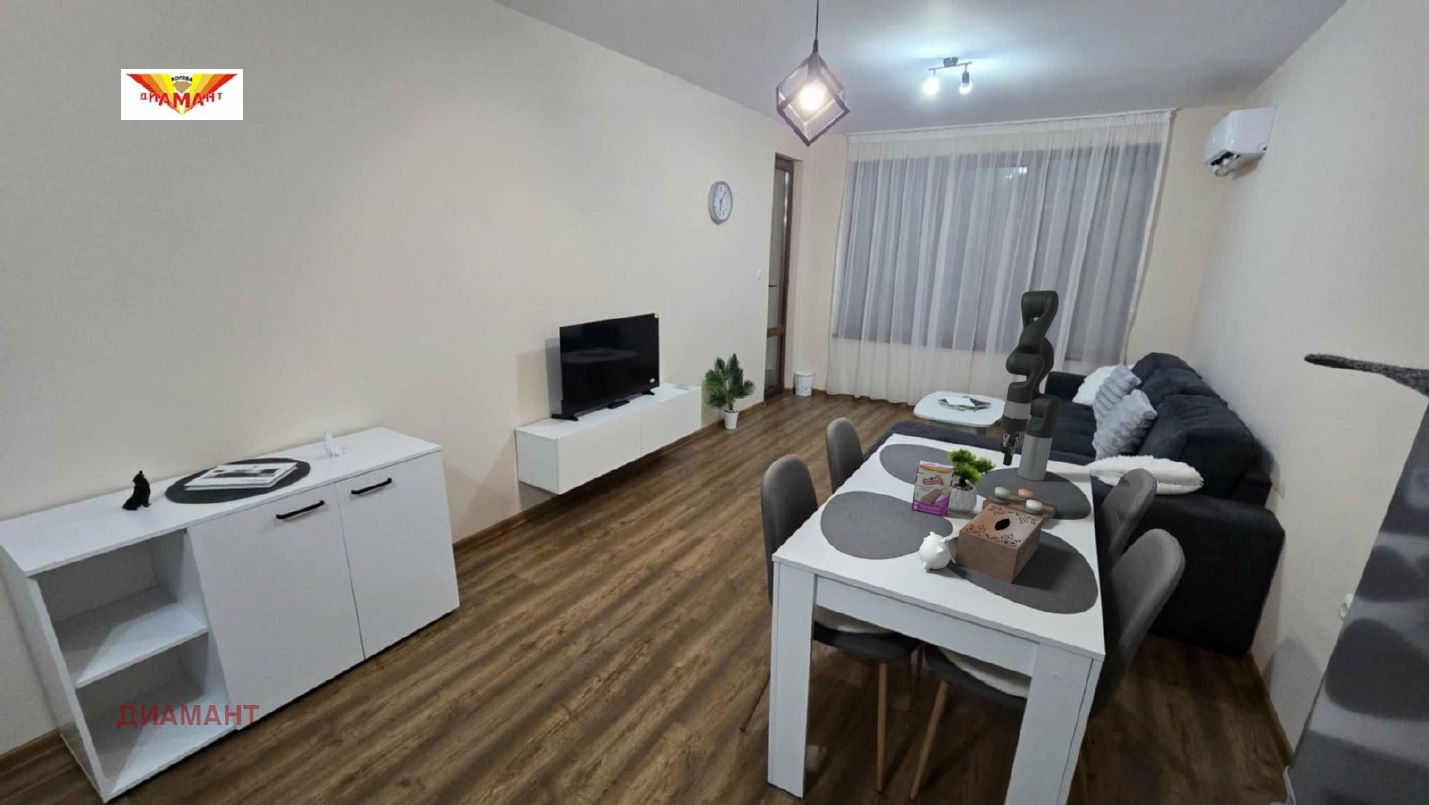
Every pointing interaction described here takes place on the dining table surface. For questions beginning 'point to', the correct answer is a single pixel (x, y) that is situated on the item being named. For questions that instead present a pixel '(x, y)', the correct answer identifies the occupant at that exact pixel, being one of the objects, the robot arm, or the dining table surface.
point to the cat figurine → (935, 552)
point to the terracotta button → (1025, 494)
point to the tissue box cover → (998, 542)
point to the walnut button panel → (1023, 505)
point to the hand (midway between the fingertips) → (1006, 464)
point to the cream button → (1033, 505)
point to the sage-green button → (1002, 492)
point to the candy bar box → (933, 488)
